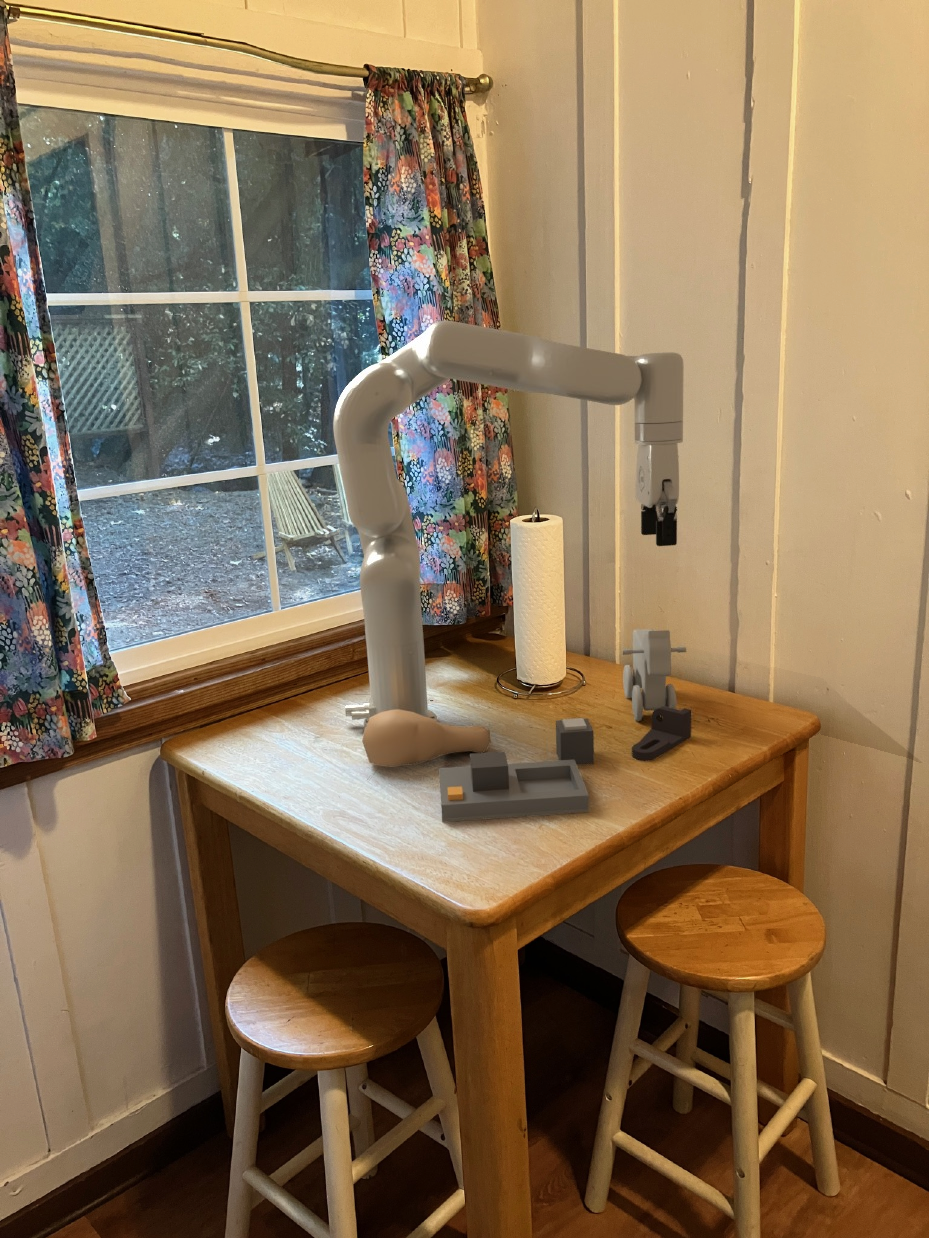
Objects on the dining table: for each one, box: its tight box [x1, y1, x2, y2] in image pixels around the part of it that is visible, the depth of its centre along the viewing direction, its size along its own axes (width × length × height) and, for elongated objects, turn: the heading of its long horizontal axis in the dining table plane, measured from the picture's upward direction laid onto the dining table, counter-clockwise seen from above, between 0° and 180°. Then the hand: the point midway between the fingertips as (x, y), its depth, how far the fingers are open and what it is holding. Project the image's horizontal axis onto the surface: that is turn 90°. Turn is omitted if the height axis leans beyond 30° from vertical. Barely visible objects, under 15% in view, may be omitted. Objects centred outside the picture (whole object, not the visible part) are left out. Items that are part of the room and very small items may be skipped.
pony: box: [622, 628, 687, 722], centre depth 164 cm, size 20×10×17 cm, turn 179°
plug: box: [555, 717, 595, 766], centre depth 148 cm, size 5×5×6 cm
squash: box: [362, 709, 491, 768], centre depth 150 cm, size 11×20×9 cm, turn 106°
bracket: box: [631, 707, 692, 762], centre depth 151 cm, size 6×12×5 cm, turn 137°
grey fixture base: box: [438, 751, 590, 823], centre depth 136 cm, size 20×12×6 cm, turn 93°
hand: (658, 539), depth 157 cm, fingers open, 9 cm apart
